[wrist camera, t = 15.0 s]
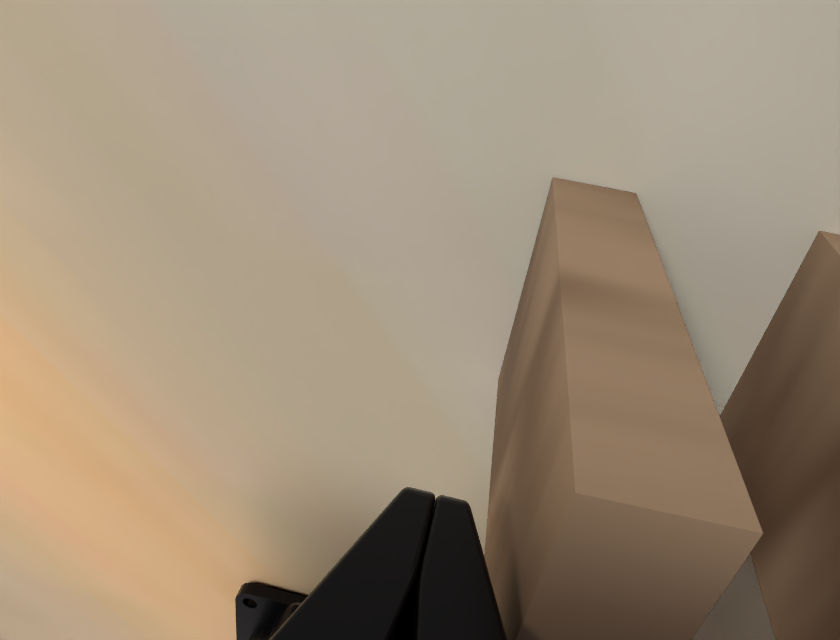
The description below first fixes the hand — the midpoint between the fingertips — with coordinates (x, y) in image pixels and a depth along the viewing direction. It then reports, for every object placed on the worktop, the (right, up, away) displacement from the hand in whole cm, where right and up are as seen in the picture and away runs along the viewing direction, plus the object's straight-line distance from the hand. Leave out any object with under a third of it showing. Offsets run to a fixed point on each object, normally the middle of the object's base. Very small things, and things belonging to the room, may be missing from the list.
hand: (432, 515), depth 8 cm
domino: (+3, +3, +5) cm, 7 cm away
